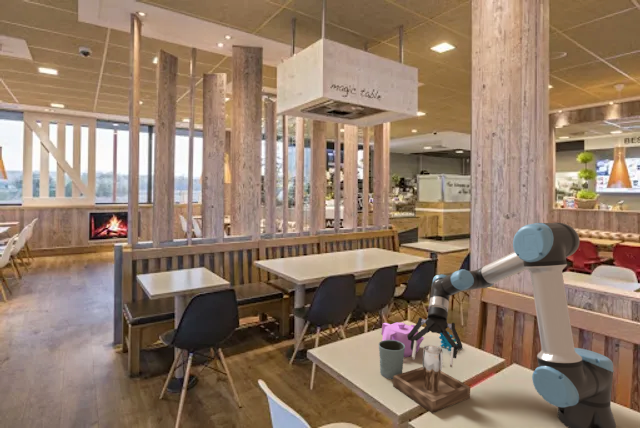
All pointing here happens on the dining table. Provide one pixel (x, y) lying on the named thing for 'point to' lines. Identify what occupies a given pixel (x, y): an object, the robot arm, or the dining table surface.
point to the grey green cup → (391, 358)
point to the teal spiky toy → (446, 341)
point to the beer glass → (432, 368)
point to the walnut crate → (413, 388)
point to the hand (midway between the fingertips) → (431, 362)
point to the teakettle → (400, 335)
